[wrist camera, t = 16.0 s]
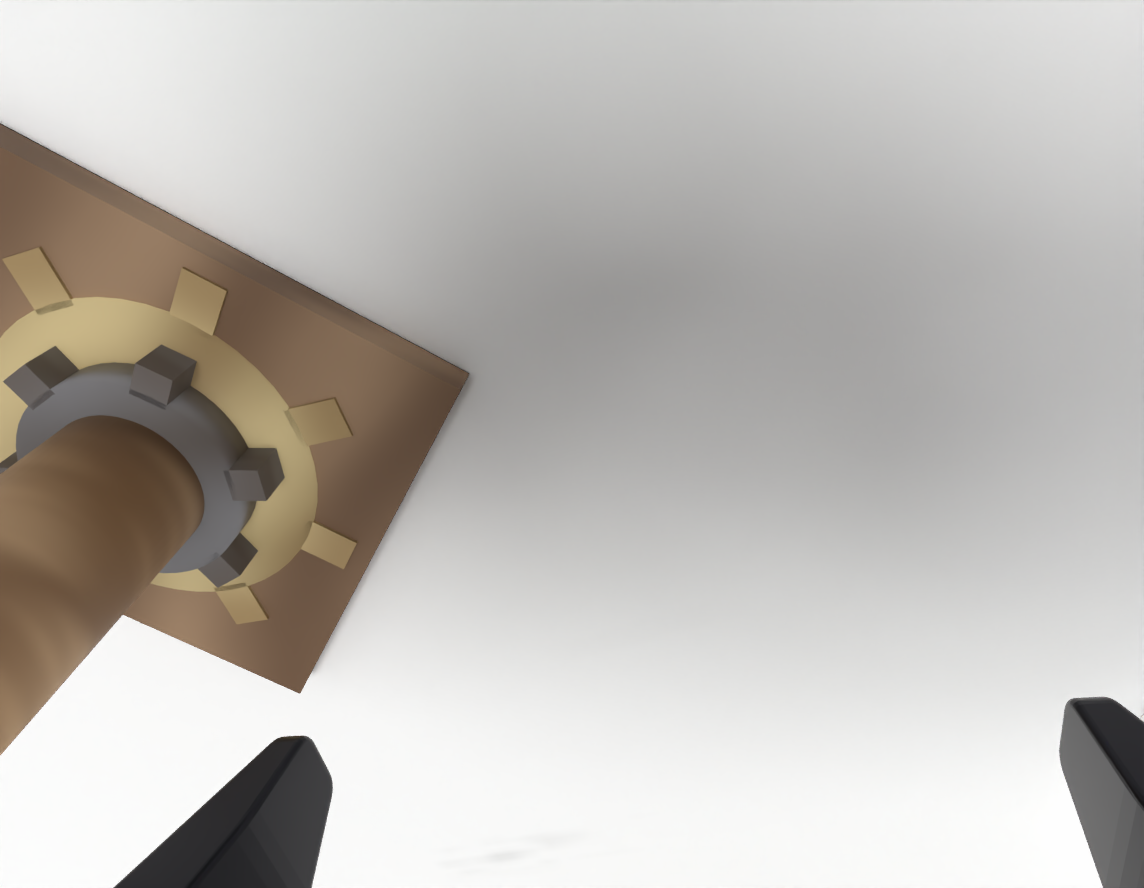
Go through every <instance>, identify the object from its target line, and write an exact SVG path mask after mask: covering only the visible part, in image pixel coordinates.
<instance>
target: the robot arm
mask: <svg viewBox="0 0 1144 888" xmlns="http://www.w3.org/2000/svg"><path fill="white" fill-rule="evenodd" d="M1059 753H1060V762H1061V766H1062V770H1063V773H1064V776H1065V779H1066V782H1067V785H1068V788H1069V791H1070V793H1071V796H1072V799H1073V802H1074V805H1075V808H1076V811H1077V814H1078V816H1079V819H1080V822H1081V825H1082V828H1083V831H1084V834H1085V837H1086V840H1087V842H1088V845H1089V848H1090V851H1091V854H1092V857H1093V860H1094V863H1095V866H1096V868H1097V871H1098V874H1099V877H1100V880H1101V883H1102V886H1103V888H1144V722H1143V721H1142V720H1140V719H1139V718H1138V717H1136V716H1135V715H1134V714H1133V713H1131V712H1130V711H1129V710H1127V709H1126V708H1125V707H1123V706H1122V705H1121V704H1120V703H1118V702H1117V701H1115V700H1113V699H1111V698H1108V697H1089V698H1073V699H1070V700H1069V701H1068V702H1067V703H1066V706H1065V710H1064V718H1063V725H1062V733H1061V740H1060V748H1059ZM332 790H333V785H332V778H331V775H330V773H329V771H328V769H327V767H326V765H325V763H324V761H323V759H322V757H321V755H320V753H319V751H318V750H317V748H316V746H315V744H314V742H313V741H312V739H310V738H309V737H307V736H287V737H280V738H278V739H276V740H274V741H273V742H272V743H271V744H269V745H268V746H267V747H266V748H265V749H264V750H263V751H262V752H261V753H260V754H259V755H258V756H256V757H255V758H254V759H253V760H252V761H251V762H250V763H249V764H248V765H247V766H246V767H244V768H243V769H242V770H241V771H240V772H239V773H238V774H237V775H236V776H235V777H234V778H232V779H231V780H230V781H229V782H228V783H227V784H226V785H225V786H224V787H223V788H222V789H221V790H219V791H218V792H217V793H216V794H215V795H214V796H213V797H212V798H211V799H210V800H209V801H207V802H206V803H205V804H204V805H203V806H202V807H201V808H200V809H199V810H198V811H197V812H195V813H194V814H193V815H192V816H191V817H190V818H189V819H188V820H187V821H186V822H185V823H184V824H182V825H181V826H180V827H179V828H178V829H177V830H176V831H175V832H174V833H173V834H172V835H170V836H169V837H168V838H167V839H166V840H165V841H164V842H163V843H162V844H161V845H160V846H158V847H157V848H156V849H155V850H154V851H153V852H152V853H151V854H150V855H149V856H148V857H147V858H145V859H144V860H143V861H142V862H141V863H140V864H139V865H138V866H137V867H136V868H135V869H133V870H132V871H131V872H130V873H129V874H128V875H127V876H126V877H125V878H124V879H123V880H121V881H120V882H119V883H118V884H117V885H116V886H115V887H114V888H312V883H313V879H314V874H315V870H316V865H317V861H318V856H319V852H320V847H321V843H322V838H323V834H324V829H325V825H326V820H327V816H328V811H329V807H330V802H331V798H332Z"/></svg>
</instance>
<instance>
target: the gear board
mask: <svg viewBox="0 0 1144 888" xmlns="http://www.w3.org/2000/svg"><path fill="white" fill-rule="evenodd" d="M161 344H162V345H164V346H166V347H168V348H170V349H172V350H174V351H176V352H178V353H181V354H183V355H185V356H187V357H189V358H191V359H193V360H195V361H197V363H196V366H195V370H194V374H193V378H192V382H191V385H190V386H192V387H193V388H195V389H196V390H198V391H199V392H201V393H202V394H204V395H205V396H206V397H207V398H208V399H210V400H211V401H212V402H213V403H215V404H216V405H217V406H218V407H219V408H220V409H221V410H222V411H223V412H224V413H225V414H226V415H227V417H228V418H229V419H230V420H231V421H232V423H233V424H234V425H235V426H236V428H237V429H238V431H239V432H240V434H241V435H242V437H243V438H244V440H245V442H246V444H247V446H248V448H276V449H277V452H278V456H279V459H280V462H281V466H282V469H283V473H284V476H285V478H284V479H283V481H282V482H281V483H280V485H279V486H278V487H277V488H276V490H275V491H274V492H273V494H272V495H271V496H270V497H269V499H268V500H267V501H257V502H256V506H255V509H254V512H253V514H252V516H251V518H250V519H249V521H248V522H247V524H246V525H245V526H244V528H243V529H242V530H241V532H240V533H241V534H242V535H243V536H244V537H245V538H246V539H247V540H248V541H249V542H250V543H251V544H252V545H253V546H254V547H255V548H256V549H257V550H258V552H257V553H256V555H255V556H254V557H253V559H252V560H251V562H250V563H249V564H248V566H247V567H246V568H245V570H244V571H243V573H242V574H241V575H240V576H239V577H237V578H235V579H233V580H231V581H230V582H228V583H226V584H224V585H222V586H220V587H219V588H217V587H216V586H215V585H214V584H213V583H212V582H211V581H210V580H209V579H208V578H207V577H206V576H205V575H204V574H203V573H202V572H201V571H199V570H198V569H194V570H191V571H186V572H180V573H158V575H157V576H156V577H155V578H154V579H153V580H152V581H151V583H150V584H149V585H148V586H147V587H146V588H145V589H144V591H143V592H142V593H141V594H140V595H139V596H138V598H137V599H136V600H135V601H134V602H133V603H132V604H131V606H130V607H129V608H128V609H127V610H126V611H125V613H124V614H123V615H125V616H127V617H130V618H132V619H134V620H136V621H139V622H141V623H143V624H145V625H148V626H150V627H152V628H154V629H156V630H159V631H161V632H163V633H165V634H168V635H170V636H172V637H174V638H177V639H179V640H181V641H183V642H186V643H188V644H190V645H192V646H194V647H197V648H199V649H201V650H203V651H206V652H208V653H210V654H212V655H215V656H217V657H219V658H221V659H224V660H226V661H228V662H230V663H233V664H235V665H237V666H239V667H241V668H244V669H246V670H248V671H250V672H253V673H255V674H257V675H259V676H262V677H264V678H266V679H268V680H271V681H273V682H275V683H277V684H279V685H282V686H284V687H286V688H288V689H291V690H293V691H295V692H297V693H301V691H302V689H303V687H304V685H305V683H306V681H307V679H308V678H309V676H310V674H311V672H312V670H313V668H314V666H315V664H316V662H317V661H318V659H319V657H320V655H321V653H322V651H323V649H324V647H325V645H326V644H327V642H328V640H329V638H330V636H331V634H332V632H333V630H334V628H335V627H336V625H337V623H338V621H339V619H340V617H341V615H342V613H343V612H344V610H345V608H346V606H347V604H348V602H349V600H350V598H351V596H352V595H353V593H354V591H355V589H356V587H357V585H358V583H359V581H360V579H361V578H362V576H363V574H364V572H365V570H366V568H367V566H368V564H369V562H370V561H371V559H372V557H373V555H374V553H375V551H376V549H377V547H378V545H379V544H380V542H381V540H382V538H383V536H384V534H385V532H386V530H387V529H388V527H389V525H390V523H391V521H392V519H393V517H394V515H395V513H396V512H397V510H398V508H399V506H400V504H401V502H402V500H403V498H404V496H405V495H406V493H407V491H408V489H409V487H410V485H411V483H412V481H413V479H414V478H415V476H416V474H417V472H418V470H419V468H420V466H421V464H422V463H423V461H424V459H425V457H426V455H427V453H428V451H429V449H430V447H431V446H432V444H433V442H434V440H435V438H436V436H437V434H438V432H439V430H440V429H441V427H442V425H443V423H444V421H445V419H446V417H447V415H448V413H449V412H450V410H451V408H452V406H453V404H454V402H455V400H456V398H457V397H458V395H459V393H460V391H461V389H462V387H463V385H464V383H465V381H466V379H467V378H468V376H469V373H467V372H465V371H463V370H461V369H460V368H458V367H456V366H454V365H452V364H450V363H448V362H446V361H445V360H443V359H441V358H439V357H437V356H435V355H433V354H431V353H429V352H428V351H426V350H424V349H422V348H420V347H418V346H416V345H414V344H413V343H411V342H409V341H407V340H405V339H403V338H401V337H399V336H398V335H396V334H394V333H392V332H390V331H388V330H386V329H384V328H383V327H381V326H379V325H377V324H375V323H373V322H371V321H369V320H368V319H366V318H364V317H362V316H360V315H358V314H356V313H354V312H353V311H351V310H349V309H347V308H345V307H343V306H341V305H339V304H337V303H336V302H334V301H332V300H330V299H328V298H326V297H324V296H322V295H321V294H319V293H317V292H315V291H313V290H311V289H309V288H307V287H306V286H304V285H302V284H300V283H298V282H296V281H294V280H292V279H291V278H289V277H287V276H285V275H283V274H281V273H279V272H277V271H276V270H274V269H272V268H270V267H268V266H266V265H264V264H262V263H261V262H259V261H257V260H255V259H253V258H251V257H249V256H247V255H245V254H244V253H242V252H240V251H238V250H236V249H234V248H232V247H230V246H229V245H227V244H225V243H223V242H221V241H219V240H217V239H215V238H214V237H212V236H210V235H208V234H206V233H204V232H202V231H200V230H199V229H197V228H195V227H193V226H191V225H189V224H187V223H185V222H184V221H182V220H180V219H178V218H176V217H174V216H172V215H170V214H168V213H167V212H165V211H163V210H161V209H159V208H157V207H155V206H153V205H152V204H150V203H148V202H146V201H144V200H142V199H140V198H138V197H137V196H135V195H133V194H131V193H129V192H127V191H125V190H123V189H122V188H120V187H118V186H116V185H114V184H112V183H110V182H108V181H107V180H105V179H103V178H101V177H99V176H97V175H95V174H93V173H92V172H90V171H88V170H86V169H84V168H82V167H80V166H78V165H76V164H75V163H73V162H71V161H69V160H67V159H65V158H63V157H61V156H60V155H58V154H56V153H54V152H52V151H50V150H48V149H46V148H45V147H43V146H41V145H39V144H37V143H35V142H33V141H31V140H30V139H28V138H26V137H24V136H22V135H20V134H18V133H16V132H15V131H13V130H11V129H9V128H7V127H5V126H3V125H1V124H0V463H1V462H2V461H3V460H5V459H6V458H8V457H9V456H10V455H12V454H13V453H14V452H16V433H17V429H18V424H19V421H20V419H21V417H22V415H23V413H24V411H25V410H26V408H27V407H28V405H27V404H26V403H25V402H24V401H23V400H22V399H20V398H19V397H18V396H17V395H16V394H15V393H14V392H13V391H12V390H11V389H10V388H9V387H8V386H7V385H6V384H5V383H4V382H3V381H4V380H5V379H7V378H8V377H9V376H10V375H12V374H13V373H14V372H15V371H17V370H18V369H19V368H20V367H22V366H23V365H24V364H25V363H27V362H29V361H31V360H32V359H34V358H36V357H37V356H39V355H41V354H42V353H44V352H46V351H47V350H49V349H51V348H52V347H54V346H56V347H57V348H58V349H59V350H60V351H61V352H62V353H63V354H64V355H65V356H66V357H67V358H68V359H69V360H70V361H71V362H72V363H73V364H74V365H75V366H76V367H77V368H78V369H79V370H80V369H83V368H85V367H88V366H92V365H96V364H100V363H113V362H117V363H131V364H135V363H136V362H137V361H139V360H140V359H142V358H143V357H144V356H146V355H147V354H149V353H150V352H151V351H153V350H154V349H156V348H157V347H158V346H160V345H161Z"/></svg>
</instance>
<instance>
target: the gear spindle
mask: <svg viewBox="0 0 1144 888" xmlns="http://www.w3.org/2000/svg"><path fill="white" fill-rule="evenodd" d="M196 363H197V361H195V360H193V359H191V358H189V357H187V356H185V355H183V354H181V353H178V352H176V351H174V350H172V349H170V348H168V347H166V346H164V345H162V344H161V345H160V346H158V347H157V348H156V349H154V350H153V351H151V352H150V353H149V354H147V355H146V356H144V357H143V358H142V359H140V360H139V361H137V362H136V363H135V364H131V363H117V362H113V363H100V364H96V365H92V366H88V367H85V368H83V369H80V370H79V369H78V368H77V367H76V366H75V365H74V364H73V363H72V362H71V361H70V360H69V359H68V358H67V357H66V356H65V355H64V354H63V353H62V352H61V351H60V350H59V349H58V348H57V347H56V346H54V347H52V348H51V349H49V350H47V351H46V352H44V353H42V354H41V355H39V356H37V357H36V358H34V359H32V360H31V361H29V362H27V363H25V364H24V365H23V366H22V367H20V368H19V369H18V370H17V371H15V372H14V373H13V374H12V375H10V376H9V377H8V378H7V379H5V380H4V381H3V382H4V383H5V384H6V385H7V386H8V387H9V388H10V389H11V390H12V391H13V392H14V393H15V394H16V395H17V396H18V397H19V398H20V399H22V400H23V401H24V402H25V403H26V404H27V405H28V407H27V408H26V410H25V411H24V413H23V415H22V417H21V419H20V421H19V424H18V429H17V433H16V452H14V453H13V454H12V455H10V456H9V457H8V458H6V459H5V460H3V461H2V462H1V463H0V755H1V754H2V753H3V752H4V751H5V749H6V748H7V747H8V746H9V745H10V744H11V743H12V741H13V740H14V739H15V738H16V737H17V736H18V735H19V733H20V732H21V731H22V730H23V729H24V728H25V726H26V725H27V724H28V723H29V722H30V721H31V720H32V718H33V717H34V716H35V715H36V714H37V713H38V712H39V710H40V709H41V708H42V707H43V706H44V705H45V703H46V702H47V701H48V700H49V699H50V698H51V697H52V695H53V694H54V693H55V692H56V691H57V690H58V688H59V687H60V686H61V685H62V684H63V683H64V682H65V680H66V679H67V678H68V677H69V676H70V675H71V674H72V672H73V671H74V670H75V669H76V668H77V667H78V665H79V664H80V663H81V662H82V661H83V660H84V659H85V657H86V656H87V655H88V654H89V653H90V652H91V650H92V649H93V648H94V647H95V646H96V645H97V644H98V642H99V641H100V640H101V639H102V638H103V637H104V636H105V634H106V633H107V632H108V631H109V630H110V629H111V627H112V626H113V625H114V624H115V623H116V622H117V621H118V619H119V618H120V617H121V616H122V615H123V614H124V613H125V611H126V610H127V609H128V608H129V607H130V606H131V604H132V603H133V602H134V601H135V600H136V599H137V598H138V596H139V595H140V594H141V593H142V592H143V591H144V589H145V588H146V587H147V586H148V585H149V584H150V583H151V581H152V580H153V579H154V578H155V577H156V576H157V575H158V573H180V572H186V571H191V570H194V569H198V570H199V571H201V572H202V573H203V574H204V575H205V576H206V577H207V578H208V579H209V580H210V581H211V582H212V583H213V584H214V585H215V586H216V587H217V588H219V587H220V586H222V585H224V584H226V583H228V582H230V581H231V580H233V579H235V578H237V577H239V576H240V575H241V574H242V573H243V571H244V570H245V568H246V567H247V566H248V564H249V563H250V562H251V560H252V559H253V557H254V556H255V555H256V553H257V552H258V550H257V549H256V548H255V547H254V546H253V545H252V544H251V543H250V542H249V541H248V540H247V539H246V538H245V537H244V536H243V535H242V534H241V533H240V532H241V530H242V529H243V528H244V526H245V525H246V524H247V522H248V521H249V519H250V518H251V516H252V514H253V512H254V509H255V506H256V502H257V501H267V500H268V499H269V497H270V496H271V495H272V494H273V492H274V491H275V490H276V488H277V487H278V486H279V485H280V483H281V482H282V481H283V479H284V478H285V476H284V473H283V469H282V466H281V462H280V459H279V456H278V452H277V449H276V448H248V446H247V444H246V442H245V440H244V438H243V437H242V435H241V434H240V432H239V431H238V429H237V428H236V426H235V425H234V424H233V423H232V421H231V420H230V419H229V418H228V417H227V415H226V414H225V413H224V412H223V411H222V410H221V409H220V408H219V407H218V406H217V405H216V404H215V403H213V402H212V401H211V400H210V399H208V398H207V397H206V396H205V395H204V394H202V393H201V392H199V391H198V390H196V389H195V388H193V387H192V386H190V385H191V382H192V378H193V374H194V370H195V366H196Z"/></svg>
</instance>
